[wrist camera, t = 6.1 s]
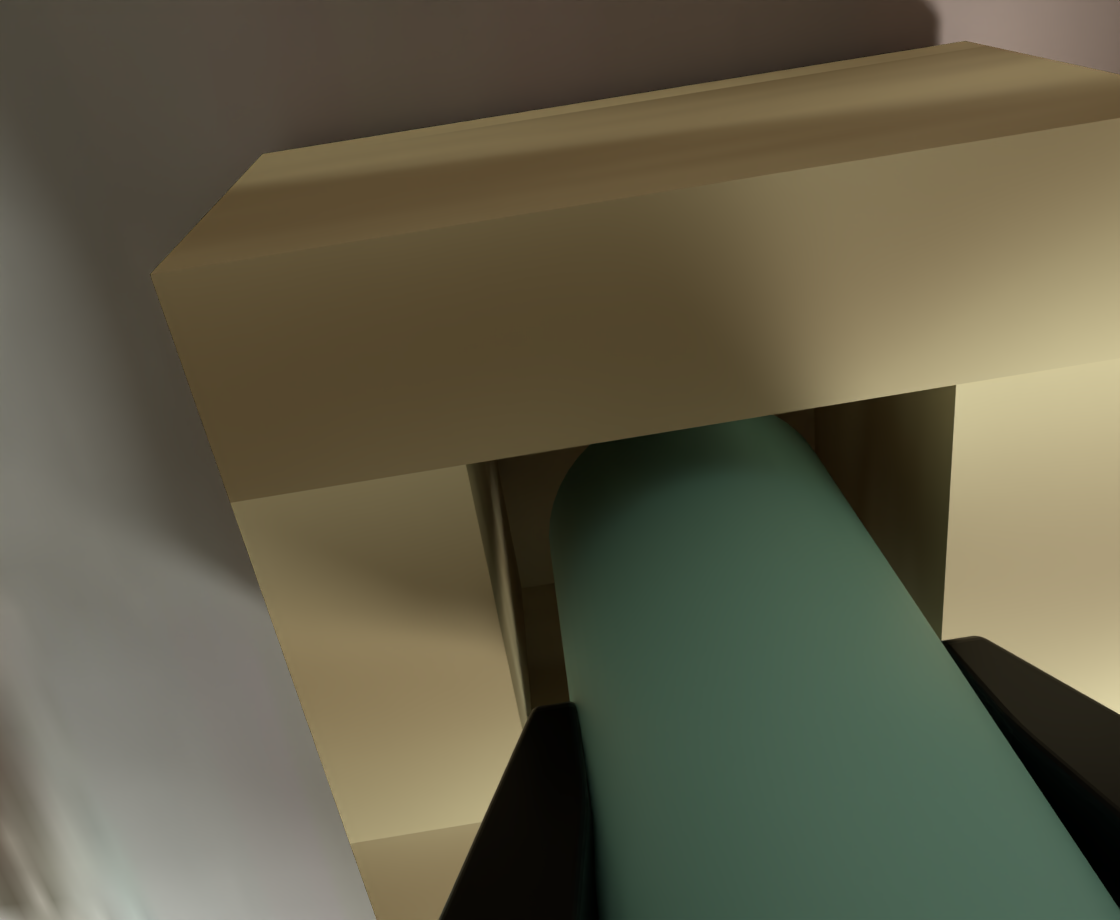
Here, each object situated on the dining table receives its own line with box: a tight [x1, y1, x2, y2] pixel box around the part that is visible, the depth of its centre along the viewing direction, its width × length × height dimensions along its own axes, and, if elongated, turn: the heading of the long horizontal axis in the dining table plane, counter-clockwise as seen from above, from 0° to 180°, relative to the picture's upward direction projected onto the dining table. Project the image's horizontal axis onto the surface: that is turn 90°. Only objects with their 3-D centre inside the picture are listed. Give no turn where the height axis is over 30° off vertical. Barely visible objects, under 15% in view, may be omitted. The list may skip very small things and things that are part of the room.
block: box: [150, 41, 1120, 920], centre depth 12 cm, size 9×9×5 cm
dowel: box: [549, 415, 1120, 920], centre depth 7 cm, size 3×3×10 cm
